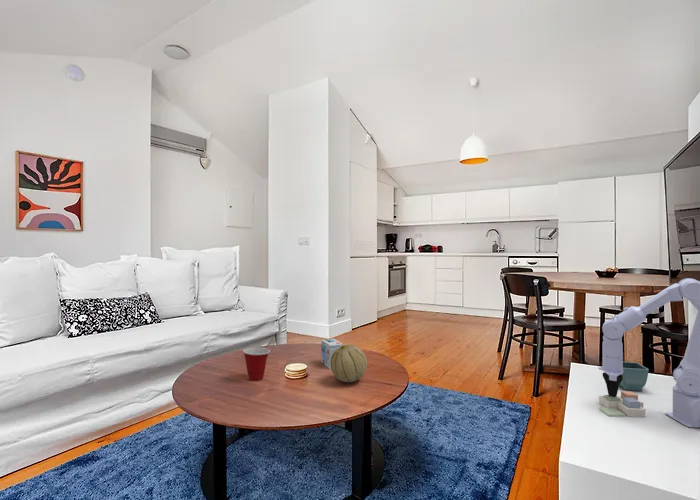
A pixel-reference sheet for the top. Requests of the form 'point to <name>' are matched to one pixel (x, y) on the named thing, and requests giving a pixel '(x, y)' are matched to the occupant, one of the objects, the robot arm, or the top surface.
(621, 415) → the sage swatch
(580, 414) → the top surface
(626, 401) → the blue-grey cube
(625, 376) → the flower pot
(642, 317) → the robot arm
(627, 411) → the side socket
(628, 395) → the orange-brown cube
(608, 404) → the button strip
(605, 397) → the sage button
